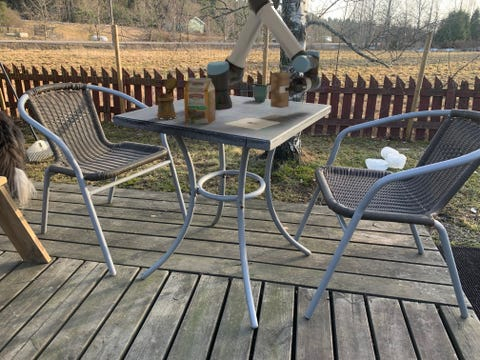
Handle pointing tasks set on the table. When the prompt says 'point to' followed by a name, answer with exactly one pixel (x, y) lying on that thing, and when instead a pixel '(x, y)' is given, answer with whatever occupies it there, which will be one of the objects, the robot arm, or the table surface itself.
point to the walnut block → (276, 82)
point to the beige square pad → (252, 123)
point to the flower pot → (260, 92)
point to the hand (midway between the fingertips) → (273, 89)
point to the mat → (278, 118)
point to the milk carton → (199, 101)
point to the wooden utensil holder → (167, 100)
